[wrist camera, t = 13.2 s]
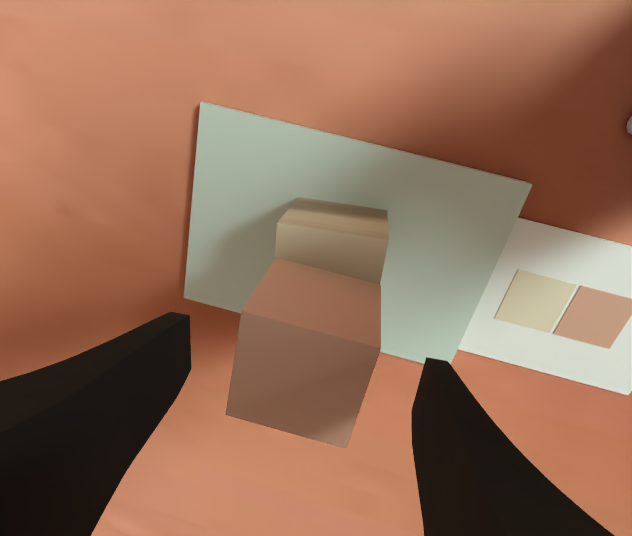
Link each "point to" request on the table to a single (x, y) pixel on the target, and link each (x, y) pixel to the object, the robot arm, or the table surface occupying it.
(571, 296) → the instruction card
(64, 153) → the table surface
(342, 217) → the beech block
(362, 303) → the pinkish tan cube
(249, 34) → the table surface
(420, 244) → the plate
